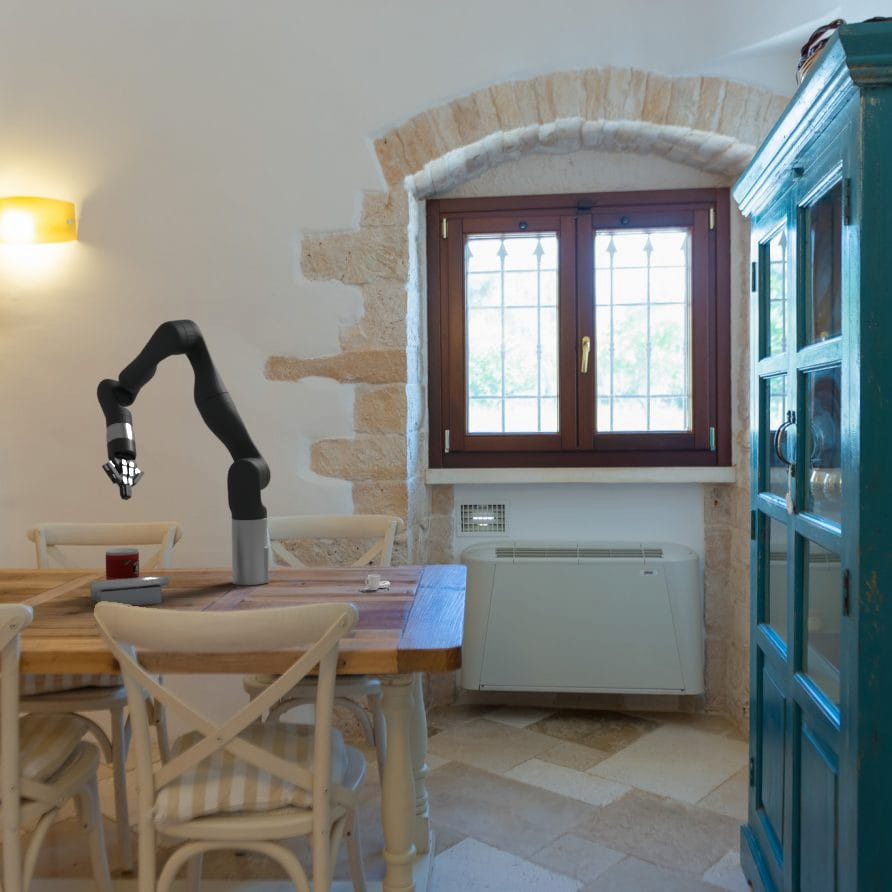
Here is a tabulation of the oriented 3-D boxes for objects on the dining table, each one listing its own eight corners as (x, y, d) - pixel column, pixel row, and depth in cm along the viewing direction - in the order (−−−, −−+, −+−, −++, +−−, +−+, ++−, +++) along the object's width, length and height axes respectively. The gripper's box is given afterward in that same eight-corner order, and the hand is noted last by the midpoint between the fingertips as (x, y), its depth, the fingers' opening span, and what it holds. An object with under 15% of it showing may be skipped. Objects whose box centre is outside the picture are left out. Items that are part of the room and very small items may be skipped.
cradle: (159, 592, 224) (159, 567, 224) (169, 602, 212) (168, 576, 212) (87, 599, 216) (86, 573, 216) (93, 610, 204) (92, 582, 204)
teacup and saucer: (386, 587, 232) (386, 571, 232) (396, 592, 225) (396, 576, 225) (354, 589, 229) (354, 574, 229) (363, 595, 221) (363, 579, 221)
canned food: (129, 597, 218) (128, 553, 218) (99, 596, 220) (98, 552, 219) (145, 591, 225) (144, 548, 225) (117, 590, 227) (116, 547, 227)
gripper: (130, 454, 255) (136, 508, 248) (92, 442, 244) (96, 498, 237) (149, 443, 252) (154, 498, 245) (110, 431, 242) (115, 487, 234)
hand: (126, 498), depth 241 cm, fingers closed
